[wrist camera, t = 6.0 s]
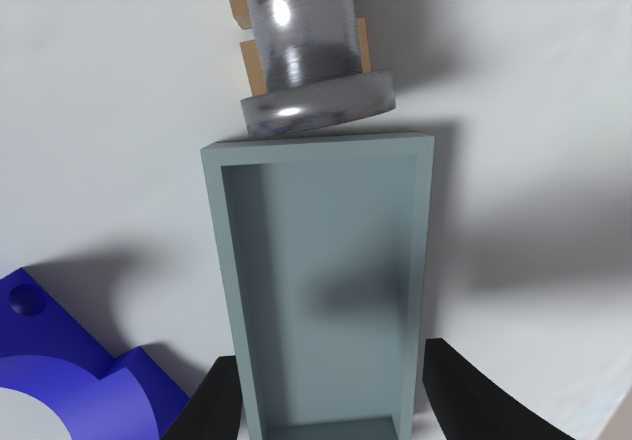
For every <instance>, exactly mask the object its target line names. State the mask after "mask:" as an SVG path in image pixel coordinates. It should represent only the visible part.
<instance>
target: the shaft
mask: <svg viewBox="0 0 632 440" xmlns="http://www.w3.org/2000/svg"><path fill="white" fill-rule="evenodd" d="M229 1H230V5H231V9H232V13H233V17H234V19H235V20H236V21H237V23H238V24H239V26H240V27H241V28H242V30H243V29H247V28H252V27H253V32H254V36H255V40H251V41H246V42H241V43H240V46H241V50H242V54H243V59H244V63H245V67H246V71H247V75H248V79H249V83H250V87H251V92H252V96H253V97H249V98H245V99H242V100H240V102H241V106H242V110H243V114H244V118H245V122H246V125H247V129H248V133H249V137H267V136H275V135H282V134H289V133H295V132H301V131H307V130H312V129H317V128H323V127H328V126H332V125H337V124H342V123H346V122H351V121H355V120H359V119H364V118H367V117H371V116H375V115H379V114H382V113H385V112H388V111H391V110H393V109H395V108H396V102H395V91H394V81H393V70H392V69H386V70H379V71H373V72H371V65H370V56H369V48H368V39H367V31H366V22H365V17H363V18H358V19H356V14H355V6H354V3H355V1H356V0H229Z"/></svg>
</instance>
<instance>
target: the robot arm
mask: <svg viewBox="0 0 632 440" xmlns="http://www.w3.org/2000/svg"><path fill="white" fill-rule="evenodd" d="M422 381H423V384H424V387H425V390H426V393H427V396H428V399H429V401H430V404H431V407H432V409H433V412H434V414H435V416H436V418H437V420H438V422H439V424H440V426H441V429H442V431H443V433H444V435H445V437H446V439H447V440H576V439H574V438H572V437H571V436H569V435H567V434H566V433H564V432H562V431H561V430H559V429H558V428H556V427H554V426H553V425H551V424H550V423H548V422H547V421H545V420H544V419H542V418H541V417H539V416H538V415H536V414H535V413H533V412H532V411H531V410H529V409H528V408H526V407H525V406H523V405H522V404H521V403H519V402H518V401H517V400H515V399H514V398H513V397H511V396H510V395H509V394H507V393H506V392H505V391H503V390H502V389H501V388H500V387H498V386H497V385H496V384H495V383H493V382H492V381H491V380H490V379H488V378H487V377H486V376H485V375H484V374H482V373H481V372H480V371H479V370H478V369H476V368H475V367H474V366H473V365H472V364H471V363H470V362H468V361H467V360H466V359H465V358H464V357H463V356H462V355H460V354H459V353H458V352H457V351H456V350H455V349H454V348H453V347H451V346H450V345H449V344H448V343H447V342H446V341H445V340H443V339H442V338H435V339H426V344H425V355H424V367H423V378H422ZM242 399H243V395H242V389H241V383H240V377H239V371H238V366H237V360H236V355H233V356H221V357H218V359H217V360H216V361H215V363H214V364H213V366H212V368H211V369H210V371H209V372H208V374H207V375H206V377H205V378H204V380H203V381H202V383H201V384H200V386H199V387H198V389H197V390H196V392H195V393H194V394H193V396H192V397H191V399H190V400H189V401H188V403H187V404H186V406H185V407H184V408H183V410H182V411H181V412H180V414H179V415H178V416H177V418H176V419H175V420H174V421H173V423H172V424H171V425H170V427H169V428H168V429H167V430H166V432H165V433H164V434H163V435H162V437H161V438H160V439H159V440H237V436H238V431H239V426H240V418H241V409H242Z"/></svg>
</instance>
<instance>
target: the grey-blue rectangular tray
mask: <svg viewBox="0 0 632 440" xmlns="http://www.w3.org/2000/svg"><path fill="white" fill-rule="evenodd" d="M434 141H435V136H432V135H428V134H424V133H420V132H416V131H415V132H397V133H379V134H362V135H344V136H326V137H308V138H291V139H273V140H255V141H237V142H220V143H212V144H210V145H208V146H206V147H204V148H202V149H200V151H201V157H202V163H203V169H204V175H205V181H206V186H207V192H208V198H209V204H210V210H211V215H212V221H213V227H214V233H215V239H216V245H217V250H218V256H219V262H220V268H221V274H222V280H223V285H224V291H225V297H226V303H227V309H228V315H229V320H230V326H231V332H232V338H233V344H234V349H235V355H236V360H237V366H238V371H239V377H240V383H241V389H242V395H243V402H244V408H245V414H246V419H247V425H248V431H249V437H250V440H411V434H412V421H413V408H414V396H415V383H416V370H417V357H418V345H419V332H420V319H421V306H422V294H423V281H424V268H425V256H426V243H427V230H428V217H429V205H430V192H431V179H432V166H433V154H434Z"/></svg>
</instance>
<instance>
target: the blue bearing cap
mask: <svg viewBox="0 0 632 440" xmlns="http://www.w3.org/2000/svg"><path fill="white" fill-rule="evenodd" d="M0 387H3V388H8V389H13V390H17V391H20V392H23V393H26V394H28V395H30V396H32V397H34V398H36V399H38V400H39V401H41V402H43V403H44V404H46V405H47V406H48V407H49V408H50V409H52V410H53V411H54V412H55V413H56V414H57V416H58V417H59V418H60V419H61V420H62V422H63V423H64V425H65V426H66V428H67V430H68V431H69V433H70V435H71V438H72V440H159V439H160V438H161V437H162V435H163V434H164V433H165V432H166V430H167V429H168V428H169V427H170V425H171V424H172V423H173V421H174V420H175V419H176V418H177V416H178V415H179V414H180V412H181V411H182V410H183V408H184V407H185V406H186V404H187V403H188V401H189V400H190V398H189V397H188V396H187V395H186V394H185V393H184V392H183V391H182V390H181V389H180V388H179V387H178V386H177V385H176V384H175V383H174V382H173V381H172V380H171V378H170V377H169V376H168V375H167V374H166V373H165V372H164V371H163V370H162V369H161V368H160V367H159V366H158V365H157V364H156V363H155V362H154V361H153V360H152V359H151V358H150V357H149V356H148V355H147V354H146V353H145V352H144V351H143V350H142V349H141V348H140V346H138V347H136V348H134V349H132V350H130V351H128V352H126V353H124V354H122V355H121V356H119V357H117V358H114V357H113V356H112V355H110V354H109V353H108V352H107V351H106V350H105V349H104V348H103V347H102V346H101V345H100V344H99V343H98V342H97V341H96V340H95V339H94V338H93V337H92V336H91V335H90V334H89V333H88V332H87V331H86V330H85V329H84V328H83V327H82V326H81V325H80V324H79V323H78V322H77V321H76V320H75V319H74V318H73V317H72V316H71V315H69V314H68V313H67V312H66V311H65V310H64V309H63V308H62V307H61V306H60V305H59V304H58V303H57V302H56V301H55V300H54V299H53V298H52V297H51V296H50V295H49V294H48V293H47V292H46V291H45V290H44V289H43V288H42V287H41V286H40V285H39V284H38V283H37V282H36V281H35V280H34V279H33V278H32V277H31V276H30V275H28V274H27V273H26V272H25V271H24V270H23V269H22V268H19V269H17V270H16V271H14V272H12V273H11V274H9V275H7V276H5V277H4V278H2V279H0Z"/></svg>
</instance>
